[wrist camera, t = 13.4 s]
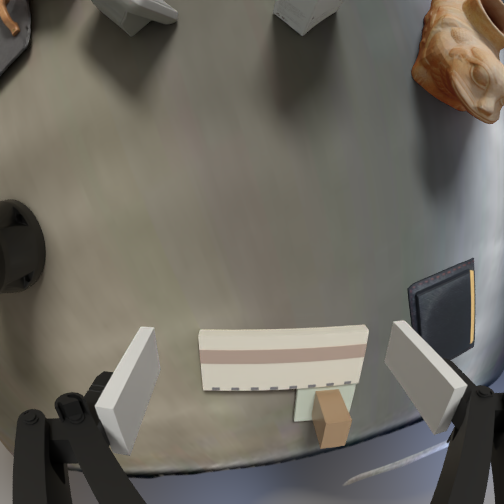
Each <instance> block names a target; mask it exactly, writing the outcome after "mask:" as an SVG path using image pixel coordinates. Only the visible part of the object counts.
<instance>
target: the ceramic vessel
mask: <svg viewBox="0 0 504 504" xmlns="http://www.w3.org/2000/svg"><path fill="white" fill-rule="evenodd" d="M503 48H504V3H503V2H502V1H501V0H432V2H431V7H430V10H429V11H428V13H427V14H426V15H425V17H424V27H423V29H422V39H421V42H420V45H419V54H418V57H417V59H416V62H415V64H414V66H413V68H412V71H411V73H412V76H413V79H414V80H415V81H416V82H417V83H418V84H419V85H421V86H422V87H423V88H424V89H425V90H426V91H427V92H429V93H430V94H431V95H433V96H434V97H436V98H437V99H438V100H440V101H442V102H444V103H445V104H447V105H449V106H451V107H453V108H455V109H457V110H459V111H467V112H468V113H470V114H471V115H472V116H474V117H475V118H477V119H479V120H481V121H483V122H484V123H488V124H493V123H495V122H496V121H497V120H498V119H499V115H500V110H501V108H502V106H504V65H503V64H502V63H501V62H500V59H499V53H500V50H501V49H503Z"/></svg>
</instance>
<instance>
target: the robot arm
mask: <svg viewBox="0 0 504 504" xmlns="http://www.w3.org/2000/svg"><path fill="white" fill-rule="evenodd" d="M44 262H45V244H44V238H43V234H42V231H41V228H40V225H39V223H38V221H37V219H36V217H35V216H34V214H33V213H32V212H31V210H30V209H29V208H28V207H27V206H26V205H24V204H23V203H21V202H19V201H16V200H5V201H0V293H14V292H20V291H23V290H25V289H27V288H28V287H30V286H32V285H33V284H34V283H35V282H36V281H37V280H38V279H39V277H40V275H41V273H42V270H43V267H44ZM384 362H385V363H386V365H387V366H388V368H389V369H390V371H391V372H392V373H393V375H394V376H395V378H396V379H397V381H398V382H399V384H400V385H401V386H402V388H403V389H404V391H405V392H406V394H407V395H408V397H409V398H410V400H411V401H412V402H413V404H414V405H415V407H416V408H417V410H418V411H419V413H420V414H421V416H422V417H423V419H424V420H425V422H426V423H427V425H428V426H429V428H430V429H431V431H432V432H433V434H434V435H435V434H438V433H441V432H444V431H447V429H448V427H449V425H450V423H451V421H452V423H453V424H454V425H455V427H454V429H453V431H452V433H451V435H450V437H449V439H448V440H447V443H449V441H450V443H449V447H448V451H447V454H446V458H445V461H444V465H443V468H442V471H441V474H440V478H439V481H438V484H437V487H436V490H435V492H434V495H433V498H432V501H431V503H430V504H483V502H484V498H485V492H486V487H487V482H488V475H489V469H490V462H491V466H492V474H493V482H494V493H495V504H504V393H494V392H493V390H492V389H490V388H489V387H486V386H481V385H479V386H476V385H475V384H474V383H473V382H472V381H471V380H470V379H469V378H468V377H467V376H466V375H465V374H464V373H462V371H461V370H460V369H458V367H457V366H456V365H455V364H454V363H453V362H452V361H450V360H448V359H446V358H441V357H440V356H439V355H438V354H437V353H436V352H435V351H434V350H433V349H432V348H431V347H430V346H429V345H428V343H427V342H426V341H425V340H424V339H423V338H422V337H421V336H420V335H419V334H418V333H417V332H416V331H415V330H414V329H412V328H411V327H410V326H409V325H408V324H407V323H406V322H405V321H394V322H393V325H392V330H391V335H390V339H389V344H388V349H387V353H386V357H385V361H384ZM160 370H161V369H160V363H159V357H158V350H157V343H156V337H155V329H154V327H140V329H139V330H138V332H137V334H136V335H135V337H134V339H133V340H132V342H131V344H130V345H129V347H128V349H127V350H126V352H125V354H124V356H123V357H122V359H121V361H120V362H119V364H118V366H117V368H116V369H115V371H114V372H105V371H104V372H103V373H101V374H100V375H99V376H97V377H96V379H95V380H94V382H93V383H92V385H91V387H90V388H89V391H87V393H86V395H85V396H84V397H83V395H81V394H79V393H73V392H71V393H66V394H63V395H61V396H60V397H58V398H57V399H56V401H55V409H56V411H57V413H58V415H59V418H57V419H46V418H45V415H44V414H43V413H42V412H41V411H39V410H36V409H31V410H27V411H25V412H23V413H22V414H21V415H20V416H19V418H18V421H17V429H16V439H15V449H14V464H13V465H14V466H13V504H72V498H71V492H70V485H69V477H68V468H67V463H79V465H80V467H81V469H82V471H83V474H84V476H85V478H86V479H87V482H88V484H89V485H90V487H91V489H92V491H93V493H94V495H95V497H96V499H97V500H98V502H99V504H146V503H145V501H144V500H143V498H142V497H141V496H140V494H139V493H138V491H137V490H136V489H135V487H134V486H133V484H132V483H131V481H130V480H129V478H128V477H127V475H126V474H125V472H124V471H123V469H122V468H121V466H120V464H119V463H118V461H117V460H116V458H115V456H114V455H113V453H118V454H123V455H129V456H130V454H131V452H132V449H133V446H134V443H135V440H136V437H137V434H138V431H139V428H140V425H141V422H142V420H143V417H144V414H145V411H146V408H147V405H148V403H149V400H150V397H151V394H152V392H153V389H154V386H155V383H156V381H157V378H158V375H159V373H160ZM109 445H110V446H111V449H112V451H113V453H112V451H111V450H110V448H109Z"/></svg>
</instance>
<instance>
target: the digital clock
mask: <svg viewBox="0 0 504 504" xmlns="http://www.w3.org/2000/svg"><path fill="white" fill-rule="evenodd" d="M91 1H92V2H93V4H94V5H95V6H96V7H97V8H98V9H99V10H100V11H101V12H102V13H104V14H105V15H106V16H107V17H108V18H110V19H111V20H112V21H113V22H114V23H116V24H117V25H118V26H119V27H120V28H121V29H123V30H124V31H125V32H126V33H127V34H128V35H130V36H131V37H132V36H134V35H135V34H136V33H137V32H138V31H139V30H141V29H142V28H143V27H144V26H145V25H146V24H148V23H149V22H150V21H151V20H153V21H156V22H159V23H162V24H172V23H174V22H176V21H177V20H178V12H177V11H176V10H175V9H173V8H172V7H171V6H169V5H168V4H167V3H166V2H164V1H163V0H91Z"/></svg>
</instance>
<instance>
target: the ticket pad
mask: <svg viewBox="0 0 504 504" xmlns="http://www.w3.org/2000/svg"><path fill="white" fill-rule="evenodd" d="M368 333H369V330H368V328H367V327H366V326H365V325H352V326H337V327H319V328H296V329H259V330H204V329H200V331H199V336H198V337H199V351H200V362H201V372H202V382H203V390H218V391H252V390H283V389H300V388H314V387H326V386H336V385H345V384H354V383H359V378H360V374H361V369H362V364H363V360H364V356H365V351H366V346H367V339H368Z"/></svg>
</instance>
